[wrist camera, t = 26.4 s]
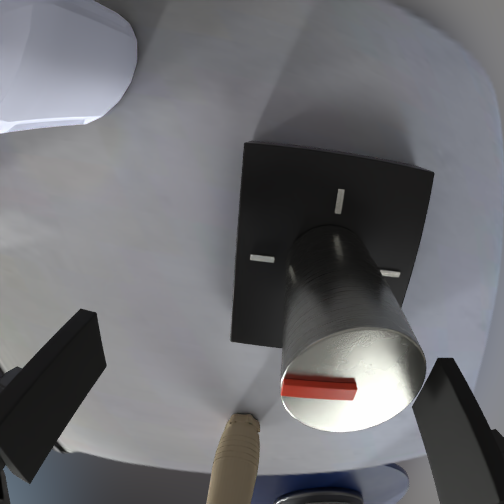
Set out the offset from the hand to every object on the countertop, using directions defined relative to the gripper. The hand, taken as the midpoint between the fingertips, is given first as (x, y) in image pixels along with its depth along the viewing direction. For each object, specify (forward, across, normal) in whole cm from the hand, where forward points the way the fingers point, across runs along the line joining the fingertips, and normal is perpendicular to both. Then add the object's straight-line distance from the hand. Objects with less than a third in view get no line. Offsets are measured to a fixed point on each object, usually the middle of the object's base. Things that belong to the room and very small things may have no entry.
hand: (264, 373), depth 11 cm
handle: (+12, -1, -18) cm, 22 cm away
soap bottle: (+12, -15, +13) cm, 23 cm away
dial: (+9, +3, +1) cm, 9 cm away
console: (+12, +3, +1) cm, 12 cm away
